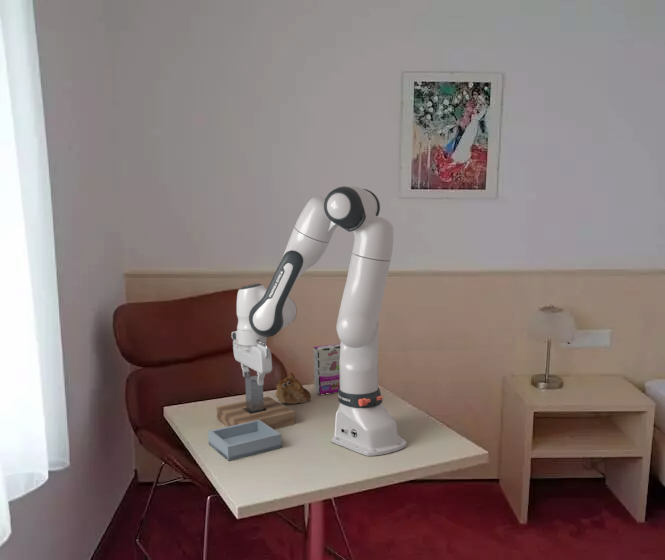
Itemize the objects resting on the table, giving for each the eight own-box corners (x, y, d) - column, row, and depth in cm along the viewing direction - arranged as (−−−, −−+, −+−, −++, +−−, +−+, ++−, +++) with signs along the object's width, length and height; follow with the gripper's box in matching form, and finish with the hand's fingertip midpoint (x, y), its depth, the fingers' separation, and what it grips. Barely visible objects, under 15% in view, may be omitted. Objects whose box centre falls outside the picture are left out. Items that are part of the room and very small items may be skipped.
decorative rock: (280, 408, 228) (279, 376, 226) (272, 403, 233) (271, 372, 231) (313, 402, 233) (312, 371, 231) (305, 397, 238) (304, 366, 237)
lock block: (295, 424, 213) (294, 411, 212) (240, 436, 204) (240, 423, 203) (268, 408, 228) (268, 396, 228) (217, 419, 219) (216, 407, 218)
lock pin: (264, 422, 215) (262, 378, 213) (252, 425, 213) (250, 380, 211) (258, 418, 219) (256, 375, 216) (246, 421, 217) (245, 377, 214)
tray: (281, 447, 195) (281, 434, 194) (228, 461, 187) (227, 446, 186) (259, 432, 207) (259, 419, 206) (208, 444, 198) (208, 431, 198)
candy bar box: (342, 387, 249) (341, 342, 246) (348, 391, 244) (347, 345, 242) (313, 391, 244) (312, 346, 242) (319, 395, 240) (318, 349, 237)
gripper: (276, 342, 205) (277, 387, 207) (247, 329, 222) (248, 371, 224) (257, 345, 201) (258, 391, 204) (229, 332, 219) (230, 374, 221)
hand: (253, 380), depth 214 cm, fingers open, 8 cm apart
